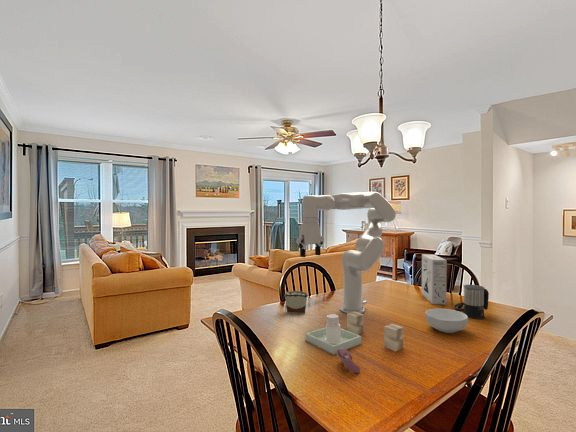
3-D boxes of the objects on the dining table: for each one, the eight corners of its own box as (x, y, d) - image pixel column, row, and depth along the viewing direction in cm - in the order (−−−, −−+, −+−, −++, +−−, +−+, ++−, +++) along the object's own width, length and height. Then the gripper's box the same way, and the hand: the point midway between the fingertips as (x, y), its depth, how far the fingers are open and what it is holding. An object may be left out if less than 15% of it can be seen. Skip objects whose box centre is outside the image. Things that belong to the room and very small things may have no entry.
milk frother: (480, 320, 152) (480, 289, 152) (446, 312, 164) (446, 283, 164) (490, 314, 161) (491, 285, 161) (457, 307, 173) (458, 279, 173)
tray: (332, 331, 138) (332, 324, 138) (361, 343, 126) (361, 336, 126) (305, 340, 129) (305, 333, 129) (333, 354, 116) (333, 346, 116)
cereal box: (421, 294, 200) (421, 254, 199) (434, 294, 199) (434, 254, 198) (432, 304, 178) (432, 259, 178) (446, 304, 177) (446, 259, 177)
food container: (308, 309, 169) (308, 290, 168) (308, 313, 163) (308, 294, 162) (285, 309, 170) (285, 290, 170) (284, 312, 164) (284, 293, 164)
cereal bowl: (434, 320, 153) (434, 305, 152) (472, 329, 141) (473, 313, 141) (419, 329, 141) (419, 313, 140) (460, 340, 129) (460, 323, 129)
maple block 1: (354, 329, 141) (354, 311, 141) (363, 332, 137) (363, 314, 137) (346, 332, 138) (346, 313, 138) (355, 335, 134) (355, 316, 134)
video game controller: (341, 364, 112) (332, 347, 112) (352, 358, 113) (344, 341, 112) (349, 379, 103) (340, 360, 102) (362, 372, 103) (352, 353, 102)
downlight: (345, 338, 130) (343, 313, 129) (342, 345, 123) (341, 319, 123) (325, 336, 132) (324, 312, 132) (321, 343, 125) (320, 318, 125)
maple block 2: (391, 343, 126) (391, 323, 126) (403, 348, 122) (403, 327, 122) (384, 347, 123) (384, 326, 123) (395, 351, 119) (395, 330, 119)
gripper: (318, 220, 163) (318, 253, 164) (291, 221, 153) (291, 256, 153) (328, 220, 157) (328, 255, 158) (301, 221, 147) (301, 258, 147)
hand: (310, 256), depth 155 cm, fingers open, 9 cm apart
